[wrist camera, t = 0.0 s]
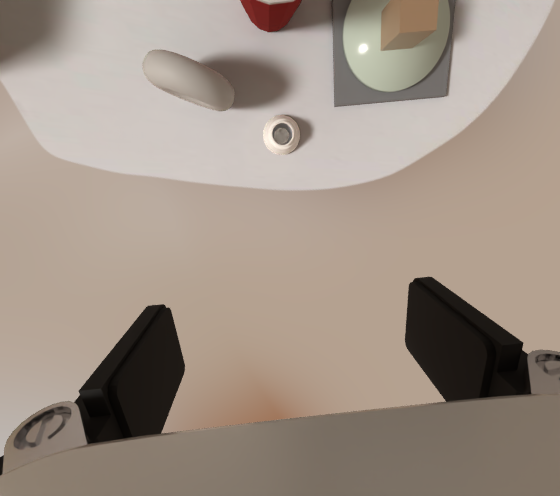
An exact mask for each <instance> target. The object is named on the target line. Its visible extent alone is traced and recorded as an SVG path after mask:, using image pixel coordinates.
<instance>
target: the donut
mask: <svg viewBox="0 0 560 496" xmlns="http://www.w3.org/2000/svg"><path fill="white" fill-rule="evenodd" d="M143 71H144V74H145V76H146V78H147V79H148V80H149V81H150V82H151V83H152V84H153V85H154V86H156V87H158V88H159V89H161V90H163V91H165V92H167V93H170V94H172V95H174V96H176V97H179V98H181V99H184V100H186V101H189V102H192V103H194V104H197V105H200V106H203V107H206V108H209V109H212V110H216V111H226V110H228V109H229V108H230V107H231V106H232V104H233V102H234V97H235V93H234V89H233V87H232V85H231V84H230V82H229V81H228V80H227V79H226V78H225V77H223V76H222V75H221V74H219V73H218V72H216V71H214V70H212V69H211V68H209V67H207V66H205V65H203V64H201V63H199V62H197V61H194V60H192V59H190V58H187V57H185V56H182V55H180V54H177V53H174V52H170V51H166V50H152V51H150V52H148V54H147V55H146V56H145V58H144V60H143Z"/></svg>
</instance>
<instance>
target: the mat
mask: <svg viewBox="0 0 560 496" xmlns="http://www.w3.org/2000/svg"><path fill="white" fill-rule="evenodd" d="M350 2H351V0H332V16H333V62H334V107H338V106H349V105H360V104H371V103H382V102H393V101H403V100H414V99H425V98H436V97H444V96H446V91H447V81H448V70H449V60H450V50H451V40H452V29H453V19H454V9H455V0H448V3H449V8H450V28H449V34H448V38H447V42H446V45H445V48H444V50H443V52H442V55H441V57H440V58H439V60H438V62H437V63H436V65H435V66H434V67H433V69H432V70H431V71H430V72H429V73H428V74H427V75H426V76H425V77H424V78H423V79H422V80H420V81H419V82H417V83H416V84H414V85H412V86H410V87H408V88H406V89H404V90H401V91H397V92H391V93H384V92H378V91H375V90H372V89H370V88H368V87H366V86H365V85H363V84H362V83H361V82H360V81H359V80H357V78H356V77H355V76H354V75H353V73H352V72H351V70H350V68H349V66H348V64H347V62H346V59H345V56H344V51H343V44H342V30H343V23H344V19H345V15H346V12H347V9H348V7H349V4H350Z"/></svg>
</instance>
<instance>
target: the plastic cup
mask: <svg viewBox="0 0 560 496" xmlns="http://www.w3.org/2000/svg"><path fill="white" fill-rule="evenodd" d="M240 1H241V3H242V5H243V7H244V9H245V11H246V13H247V14H248V16H249V18H250V20H251V21H252V22H253V23H254V24H255V25H256V26H257V27H258V28H259V29H261V30H264V31H267V32H273V31H278V30H280V29H281V28H282V27H284V26H285V25H287V23H288V22H289V20H290V19H291V17H292V16H293V14H294V12H295V11H296V9H297V8H298V6H299V4H300V3H301V1H302V0H240Z"/></svg>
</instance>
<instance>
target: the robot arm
mask: <svg viewBox="0 0 560 496" xmlns="http://www.w3.org/2000/svg"><path fill="white" fill-rule="evenodd" d="M405 343H406V347H407V349H408V350H409V352H410V353H411V354H412V356H413V357H414V359H415V360H416V361H417V363H418V364H419V365H420V367H421V368H422V369H423V371H424V372H425V373H426V375H427V376H428V377H429V379H430V380H431V382H432V383H433V384H434V386H435V387H436V388H437V389H438V391H439V392H440V394H441V395H442V396H443V398H444V399H445V400H446V402H438V403H429V404H420V405H410V406H401V407H391V408H382V409H372V410H363V411H353V412H344V413H335V414H326V415H318V416H309V417H299V418H290V419H281V420H273V421H264V422H255V423H247V424H238V425H230V426H222V427H213V428H204V429H196V430H188V431H180V432H171V433H162V434H161V432H162V430H163V427H164V424H165V422H166V419H167V416H168V413H169V411H170V408H171V406H172V403H173V401H174V398H175V396H176V393H177V390H178V388H179V385H180V383H181V380H182V377H183V375H184V371H185V364H184V360H183V356H182V352H181V348H180V344H179V340H178V336H177V332H176V328H175V324H174V320H173V317H172V313H171V310H170V308H166V306H165V305H152V306H148V307H146V308H145V310H144V311H143V312H142V313H141V314H140V316H139V317H138V318H137V320H136V321H135V322H134V323H133V324H132V326H131V327H130V328H129V330H128V331H127V332H126V333H125V334H124V335H123V337H122V338H121V339H120V341H119V342H118V343H117V344H116V345H115V347H114V348H113V349H112V350H111V352H110V353H109V354H108V355H107V357H106V358H105V359H104V360H103V361H102V363H101V364H100V365H99V367H98V368H97V369H96V370H95V371H94V373H93V374H92V375H91V376H90V378H89V379H88V380H87V381H86V383H85V384H84V385H83V386H82V388H81V389H80V390H79V393H80V396H79V397H78V398H77V399H76V401H75V402H70V401H67V402H60V403H56V404H52V405H50V406H48V407H46V408H43V409H41V410H40V411H38V412H36V413H35V414H33V415H31V416H30V417H29V418H27V419H26V420H25V421H23V422H22V423H21V424H20V425H19V426H18V427H17V428H16V429H15V430H14V431H13V432H12V434H11V435H10V436H9V438H8V439H7V442H6V445H5V448H4V455H3V456H2V457H0V496H560V352H556V351H550V350H536V351H532V352H531V353H529V354H527V353H525V352H524V351H523V350H522V347H523V342H521V341H520V340H519V339H517V338H516V337H515V336H513V335H512V334H510V333H509V332H508V331H506V330H505V329H503V328H502V327H501V326H499V325H498V324H496V323H495V322H494V321H492V320H491V319H489V318H488V317H487V316H485V315H484V314H483V313H481V312H480V311H478V310H477V309H476V308H474V307H472V306H471V305H470V304H468V303H467V302H466V301H464V300H463V299H461V298H460V297H459V296H457V295H456V294H455V293H453V292H452V291H450V290H449V289H448V288H446V287H445V286H443V285H442V284H441V283H439V282H438V281H436V280H435V279H434V278H432V277H424V278H415V279H414V280H413V282H411V283H410V284H409V292H408V307H407V320H406V334H405Z"/></svg>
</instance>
